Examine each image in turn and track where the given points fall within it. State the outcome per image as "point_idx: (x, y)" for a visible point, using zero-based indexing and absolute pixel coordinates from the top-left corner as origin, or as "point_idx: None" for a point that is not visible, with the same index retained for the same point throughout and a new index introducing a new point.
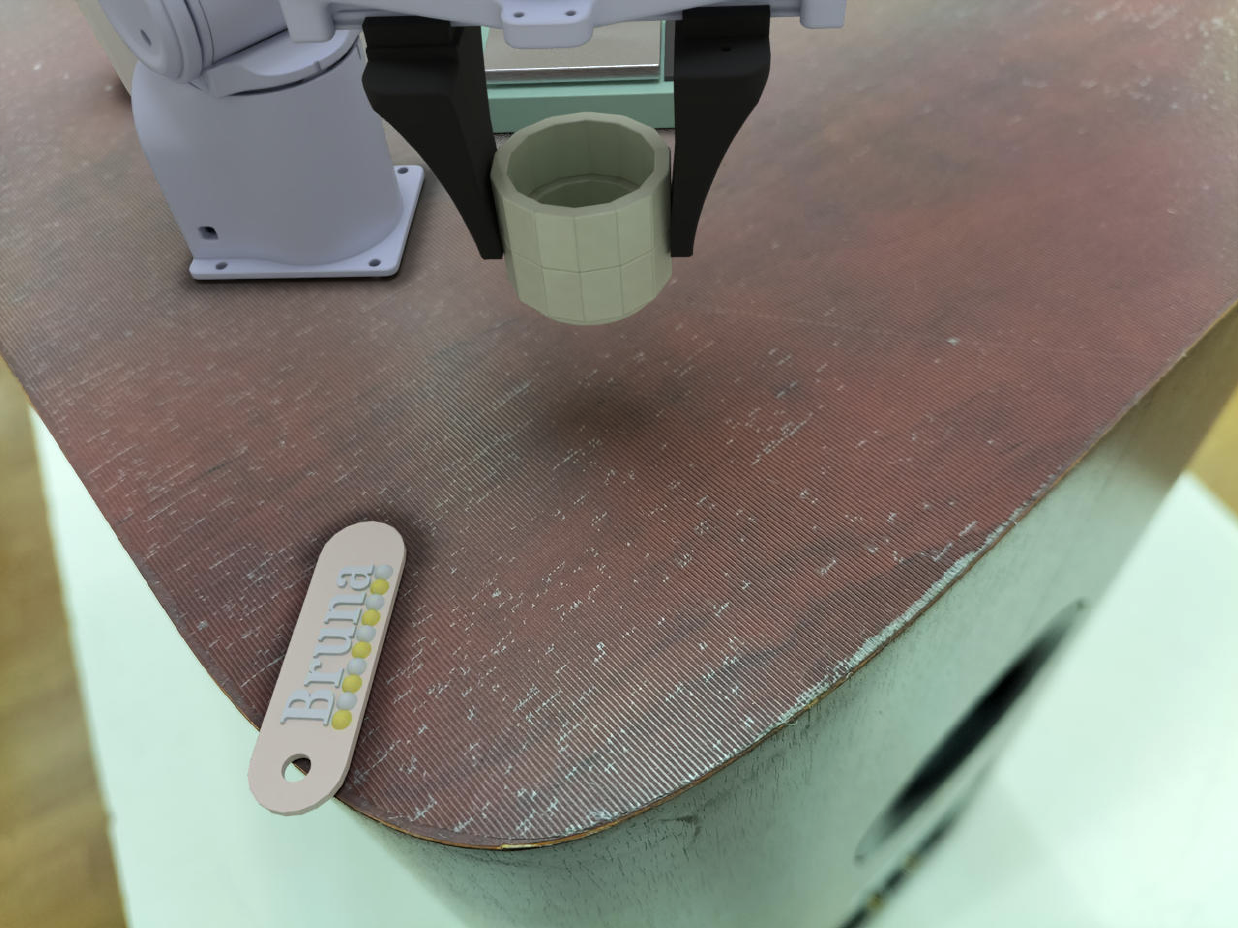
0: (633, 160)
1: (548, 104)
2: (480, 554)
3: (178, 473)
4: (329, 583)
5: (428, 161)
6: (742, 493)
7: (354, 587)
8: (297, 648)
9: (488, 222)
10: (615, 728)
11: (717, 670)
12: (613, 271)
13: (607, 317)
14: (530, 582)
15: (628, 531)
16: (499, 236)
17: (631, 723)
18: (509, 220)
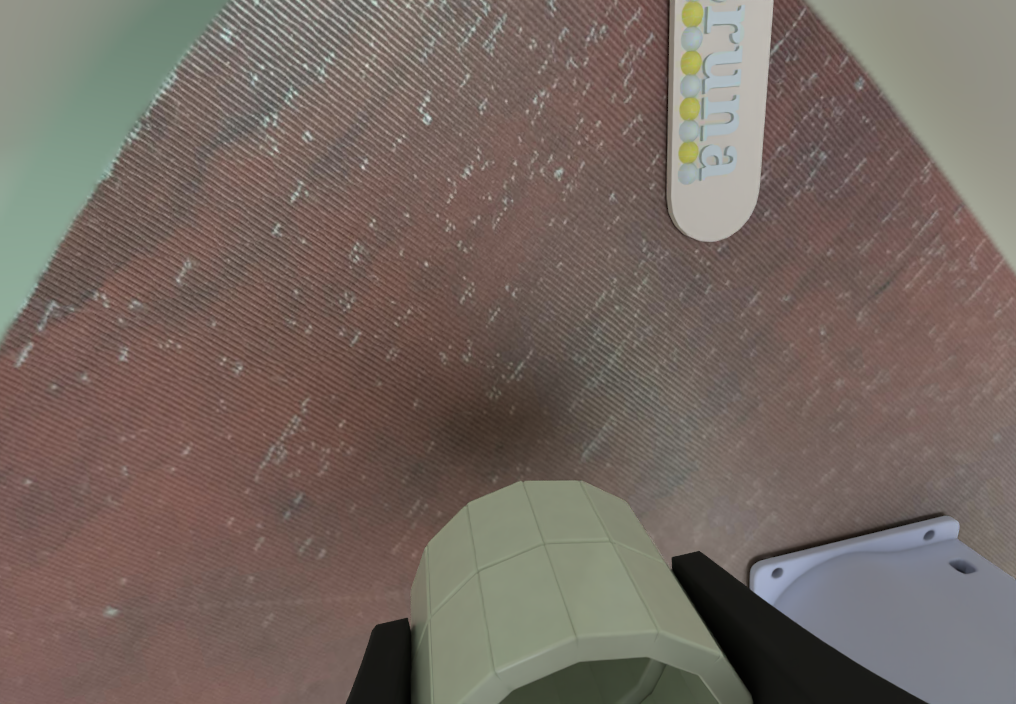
0: None
1: None
2: (587, 223)
3: (918, 274)
4: (742, 151)
5: (912, 700)
6: (310, 356)
7: (715, 146)
8: (759, 58)
9: (722, 605)
10: (383, 4)
11: (281, 103)
12: (487, 560)
13: (489, 495)
14: (524, 194)
15: (430, 281)
16: (689, 591)
17: (366, 14)
18: (691, 613)
